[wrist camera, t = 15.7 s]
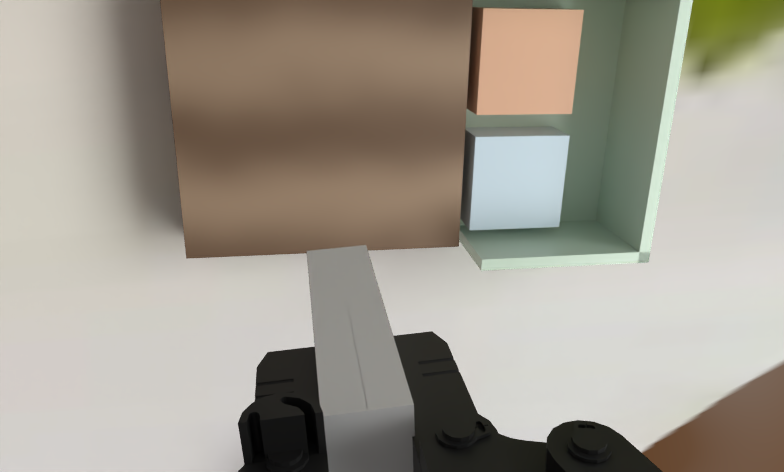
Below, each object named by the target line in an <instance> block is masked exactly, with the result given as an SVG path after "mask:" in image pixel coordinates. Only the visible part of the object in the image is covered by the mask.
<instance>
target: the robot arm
mask: <svg viewBox="0 0 784 472" xmlns="http://www.w3.org/2000/svg"><path fill="white" fill-rule="evenodd" d="M307 262H308V273H309V285H310V296H311V308H312V320H313V331H314V343H315V347H308V348H300V349H291V350H283V351H274V352H268V353H267V354H266V355H265V357H264V358H263V360H262V361H261V362H260V364H259V365H258V367H257V374H256V390H255V402H253V403H252V404H251V405H250V406H249V407H248V408H247V409H246V410H244V411H243V412H242V415H241V417H240V420H239V422H238V426H239V432H240V439H241V445H242V451H243V457H244V463H245V465H244V466H243V467H242V468H241V469H240V470H239V471H238V472H662V471H661V470H660V469H659V468H657V466H656V465H654V464H653V463H652V462H651V461H650V460H649V459H648V458H647V457H645V456H644V455H643V454H642V453H641V452H640V451H639V450H638V449H636V448H635V447H634V446H633V445H632V444H631V443H630V442H629V441H627V440H626V439H625V438H624V437H623V436H622V435H620V434H619V433H617V432H616V431H614V430H613V429H611V428H610V427H607V426H604V425H601V424H599V423H596V422H590V421H579V420H577V421H571V422H565V423H562V424H561V425H559V426H557V427H555V428H553V429H552V431H551V432H550V434H549V436H548V437H547V443H544V442H534V441H524V440H518V439H513V438H509V437H506V436H503V435H501V434H499V433H498V432H497V430H496V428H495V427H494V426H493V425H492V423H491V422H490V421H489V420H488V419H486V418H484V417H482V416H481V415H479V414H478V413H477V411H476V408H475V406H474V404H473V401H472V399H471V397H470V395H469V392H468V390H467V388H466V385H465V383H464V381H463V379H462V376H461V374H460V372H459V371H458V367H457V365H456V363H455V360H453V356H452V353H451V351H450V349H449V347H448V344H447V343H446V342H445V341H444V340H442V339H441V338H440V337H439V336H437V335H436V334H435V333H433V332H423V333H414V334H406V335H397V336H393V333H392V330H391V327H390V323H389V320H388V317H387V313H386V310H385V307H384V303H383V300H382V297H381V293H380V290H379V287H378V283H377V280H376V277H375V273H374V270H373V267H372V263H371V260H370V257H369V254H368V250H367V247H366V245H362V246H352V247H341V248H331V249H321V250H311V251H307Z"/></svg>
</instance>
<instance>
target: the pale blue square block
mask: <svg viewBox="0 0 784 472" xmlns="http://www.w3.org/2000/svg"><path fill="white" fill-rule="evenodd" d="M569 138H570V135H568V134H566V133H564V132H562V131H560V130H558V129H556V128H554V127H552V126H541V127H467V128H465V144H464V162H463V179H462V196H461V214H460V219H461V220H462V221H463V223H464V224H465V225H466V226H467V228H468V229H469V230H493V229H519V228H545V227H559V224H560V215H561V207H562V198H563V189H564V181H565V172H566V164H567V155H568V146H569Z"/></svg>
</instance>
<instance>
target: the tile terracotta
mask: <svg viewBox="0 0 784 472" xmlns="http://www.w3.org/2000/svg"><path fill="white" fill-rule="evenodd" d="M583 14H584V10H579V9H565V8H507V7H472V22H471V40H470V57H469V74H468V92H467V109H468V110H470V111H471V112H473V113H474V114H476V115H522V114H572V108H573V100H574V91H575V82H576V74H577V65H578V57H579V48H580V39H581V31H582V22H583Z"/></svg>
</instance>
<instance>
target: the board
mask: <svg viewBox="0 0 784 472" xmlns="http://www.w3.org/2000/svg"><path fill="white" fill-rule="evenodd" d="M160 4H161V14H162V24H163V33H164V43H165V53H166V63H167V73H168V82H169V92H170V102H171V112H172V121H173V131H174V141H175V151H176V160H177V170H178V180H179V190H180V200H181V209H182V219H183V229H184V239H185V248H186V258H207V257H229V256H252V255H275V254H298V253H307V251H311V250H321V249H331V248H341V247H352V246H362V245H366V247H367V250H389V249H412V248H434V247H457V246H459V231H460V214H461V196H462V179H463V162H464V144H465V127H466V109H467V92H468V74H469V57H470V40H471V22H472V5H473V0H160Z"/></svg>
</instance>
